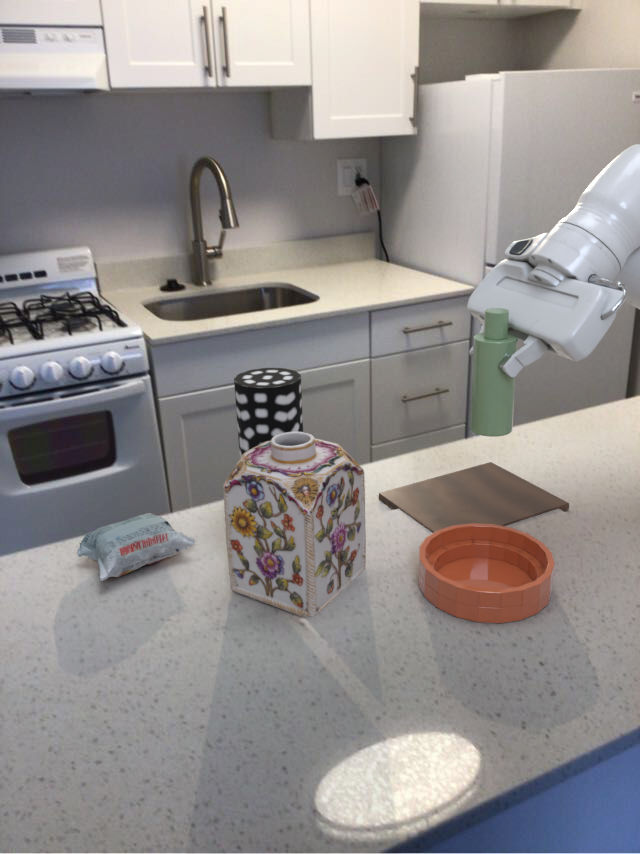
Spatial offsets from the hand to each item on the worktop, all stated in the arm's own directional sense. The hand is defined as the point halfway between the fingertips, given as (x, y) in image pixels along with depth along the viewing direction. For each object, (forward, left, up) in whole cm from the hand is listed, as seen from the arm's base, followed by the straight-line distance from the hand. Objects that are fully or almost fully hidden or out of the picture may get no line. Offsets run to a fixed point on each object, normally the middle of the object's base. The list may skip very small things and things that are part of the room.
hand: (489, 365), depth 85 cm
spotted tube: (+19, -19, -23) cm, 36 cm away
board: (-6, -9, -23) cm, 26 cm away
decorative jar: (+23, -4, -23) cm, 33 cm away
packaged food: (+38, -18, -23) cm, 48 cm away
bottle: (-1, 0, -8) cm, 8 cm away
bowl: (+6, +8, -23) cm, 25 cm away
